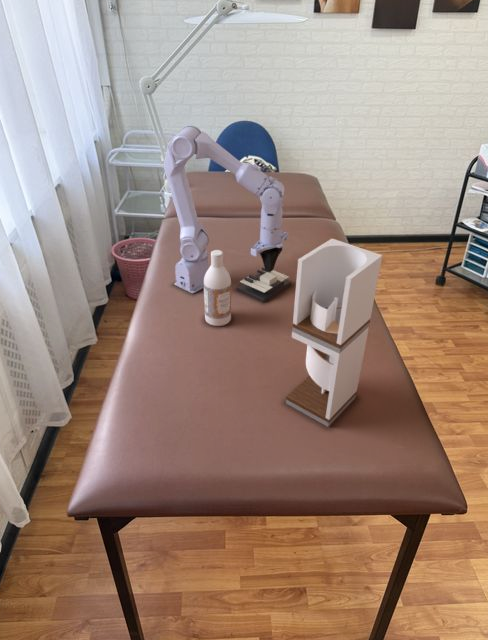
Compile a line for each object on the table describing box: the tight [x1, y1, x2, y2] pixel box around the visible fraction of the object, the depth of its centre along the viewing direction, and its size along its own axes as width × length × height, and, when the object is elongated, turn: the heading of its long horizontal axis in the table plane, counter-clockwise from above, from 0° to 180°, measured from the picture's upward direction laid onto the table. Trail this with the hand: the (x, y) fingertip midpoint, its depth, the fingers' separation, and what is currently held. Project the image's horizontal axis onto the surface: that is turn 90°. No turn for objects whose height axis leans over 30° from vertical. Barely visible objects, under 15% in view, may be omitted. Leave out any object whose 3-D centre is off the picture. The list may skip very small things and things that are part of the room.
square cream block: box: [260, 272, 277, 286], centre depth 147 cm, size 4×4×2 cm
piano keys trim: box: [239, 266, 290, 293], centre depth 147 cm, size 9×12×1 cm
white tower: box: [285, 238, 383, 428], centre depth 101 cm, size 11×11×35 cm
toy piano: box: [236, 273, 292, 304], centre depth 149 cm, size 10×13×3 cm
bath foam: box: [203, 249, 232, 327], centre depth 130 cm, size 7×7×20 cm
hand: (268, 269), depth 145 cm, fingers closed
